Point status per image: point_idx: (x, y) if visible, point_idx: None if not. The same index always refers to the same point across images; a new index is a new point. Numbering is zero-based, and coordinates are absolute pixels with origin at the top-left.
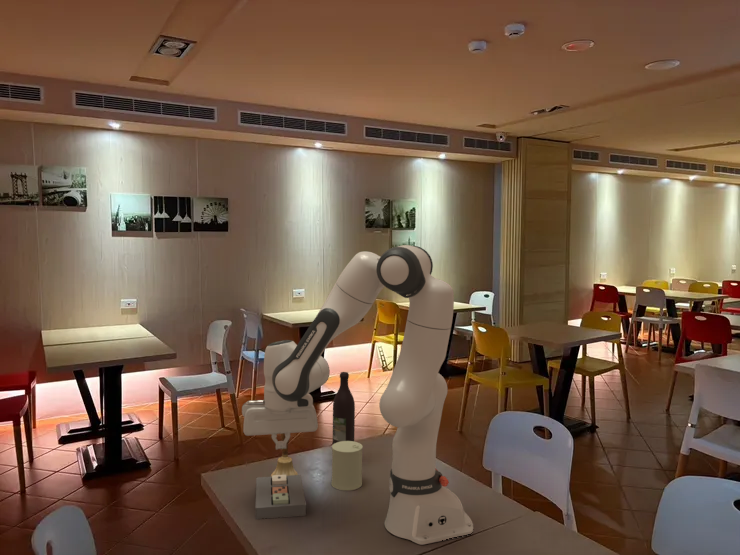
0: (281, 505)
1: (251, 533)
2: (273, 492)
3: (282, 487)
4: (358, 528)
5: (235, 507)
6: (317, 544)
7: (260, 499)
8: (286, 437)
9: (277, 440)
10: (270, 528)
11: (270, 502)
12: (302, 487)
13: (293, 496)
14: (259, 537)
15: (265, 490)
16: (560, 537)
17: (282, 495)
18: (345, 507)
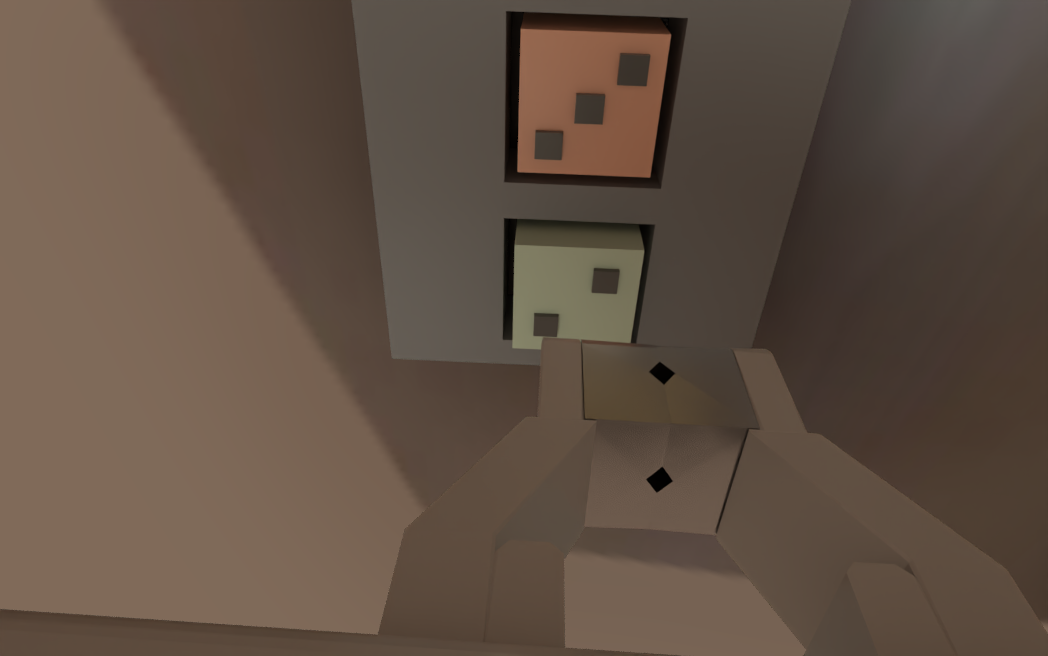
0: None
1: (399, 433)
2: (525, 149)
3: (620, 74)
4: (954, 486)
5: (233, 125)
6: (702, 550)
7: (416, 248)
8: (821, 604)
9: (583, 453)
10: (498, 411)
11: (495, 306)
12: (820, 85)
13: (687, 247)
14: (442, 468)
15: (451, 81)
16: None
17: (592, 291)
18: (1035, 277)
